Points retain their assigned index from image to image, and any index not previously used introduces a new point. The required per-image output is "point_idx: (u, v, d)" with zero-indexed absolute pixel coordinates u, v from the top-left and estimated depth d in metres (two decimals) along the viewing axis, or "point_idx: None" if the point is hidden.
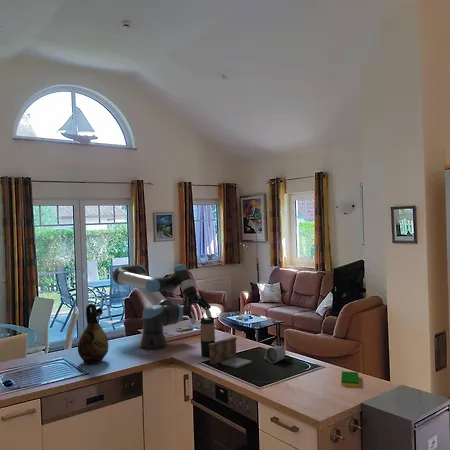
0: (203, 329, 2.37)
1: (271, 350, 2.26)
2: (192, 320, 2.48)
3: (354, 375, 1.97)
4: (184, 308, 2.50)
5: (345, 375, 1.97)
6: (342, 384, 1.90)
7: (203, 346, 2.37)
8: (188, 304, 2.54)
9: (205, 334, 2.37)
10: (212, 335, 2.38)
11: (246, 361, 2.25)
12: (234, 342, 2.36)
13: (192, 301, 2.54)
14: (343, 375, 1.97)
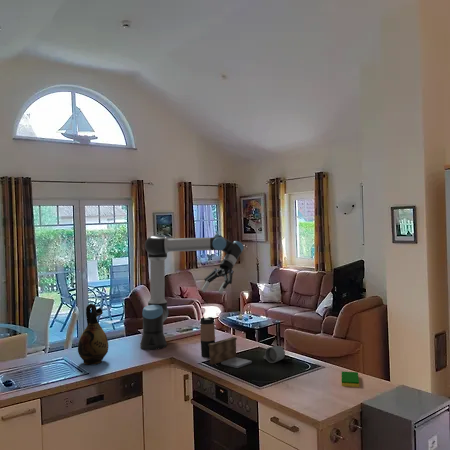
0: (203, 329, 2.37)
1: (271, 350, 2.27)
2: (221, 289, 2.53)
3: (354, 375, 1.97)
4: (230, 279, 2.56)
5: (345, 375, 1.97)
6: (342, 384, 1.89)
7: (203, 346, 2.37)
8: (225, 275, 2.60)
9: (205, 334, 2.37)
10: (212, 335, 2.38)
11: (246, 361, 2.25)
12: (234, 342, 2.36)
13: (226, 277, 2.63)
14: (343, 375, 1.97)
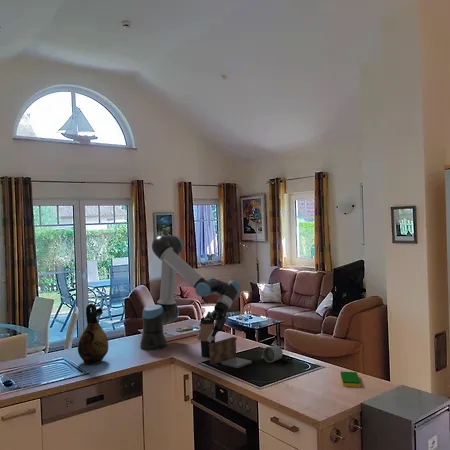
0: (203, 329, 2.37)
1: (268, 349, 2.28)
2: (210, 338, 2.36)
3: (354, 375, 1.97)
4: (221, 326, 2.38)
5: (345, 375, 1.97)
6: (344, 384, 1.89)
7: (203, 346, 2.37)
8: (218, 320, 2.42)
9: (205, 334, 2.37)
10: None
11: (246, 361, 2.25)
12: (234, 342, 2.36)
13: (219, 321, 2.44)
14: (343, 375, 1.97)
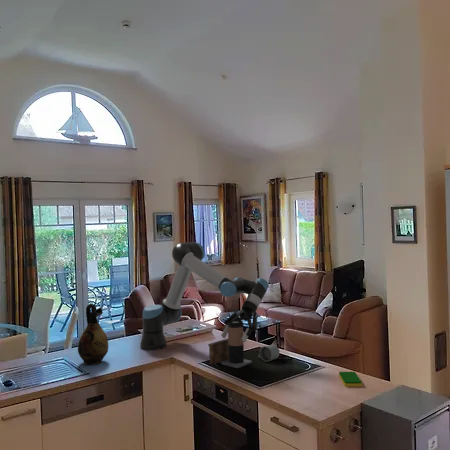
0: (231, 332, 2.22)
1: (265, 349, 2.29)
2: (245, 337, 2.20)
3: (353, 375, 1.97)
4: (255, 325, 2.22)
5: (345, 375, 1.97)
6: (345, 385, 1.89)
7: (231, 351, 2.22)
8: (249, 319, 2.26)
9: (233, 338, 2.22)
10: (241, 339, 2.23)
11: (246, 361, 2.25)
12: None
13: None
14: (343, 375, 1.96)
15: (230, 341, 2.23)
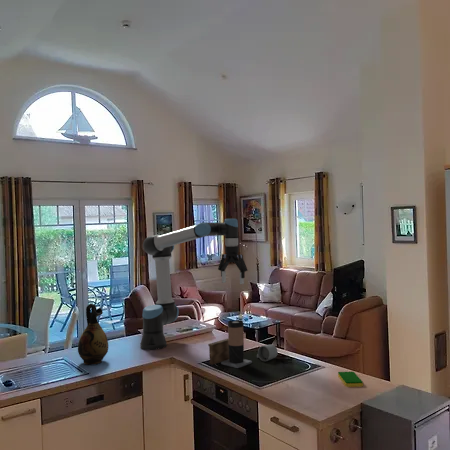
0: (232, 332, 2.22)
1: (263, 348, 2.30)
2: (242, 280, 2.50)
3: (353, 375, 1.97)
4: (244, 266, 2.48)
5: (344, 375, 1.96)
6: (347, 385, 1.88)
7: (231, 351, 2.22)
8: (237, 262, 2.51)
9: (234, 338, 2.22)
10: (241, 339, 2.23)
11: (246, 361, 2.25)
12: None
13: None
14: (343, 375, 1.96)
15: (230, 341, 2.23)
